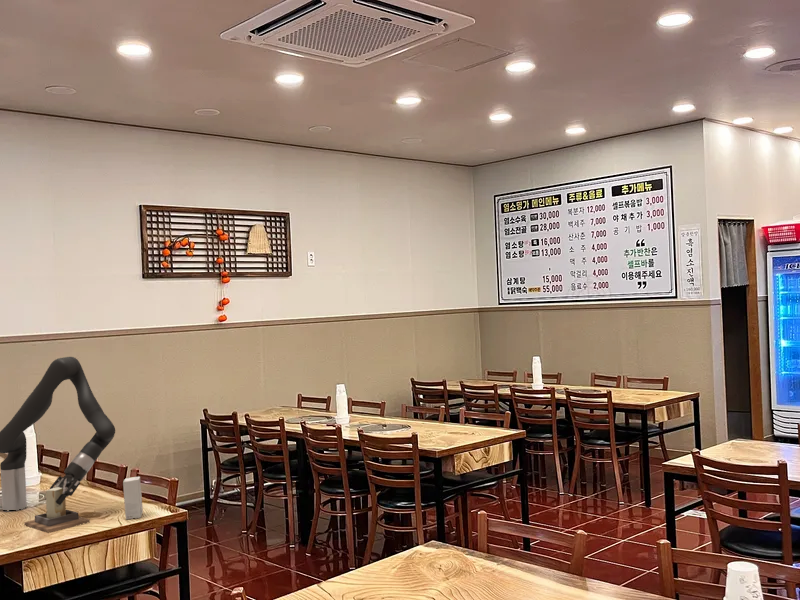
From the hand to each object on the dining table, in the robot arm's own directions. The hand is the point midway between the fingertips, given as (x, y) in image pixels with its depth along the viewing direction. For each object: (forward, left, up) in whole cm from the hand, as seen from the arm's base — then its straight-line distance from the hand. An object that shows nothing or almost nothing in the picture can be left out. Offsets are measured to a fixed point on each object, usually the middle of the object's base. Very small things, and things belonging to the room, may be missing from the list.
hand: (52, 502), depth 303 cm
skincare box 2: (+18, +23, -9) cm, 31 cm away
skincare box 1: (0, +2, -8) cm, 8 cm away
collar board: (0, +1, -9) cm, 9 cm away
